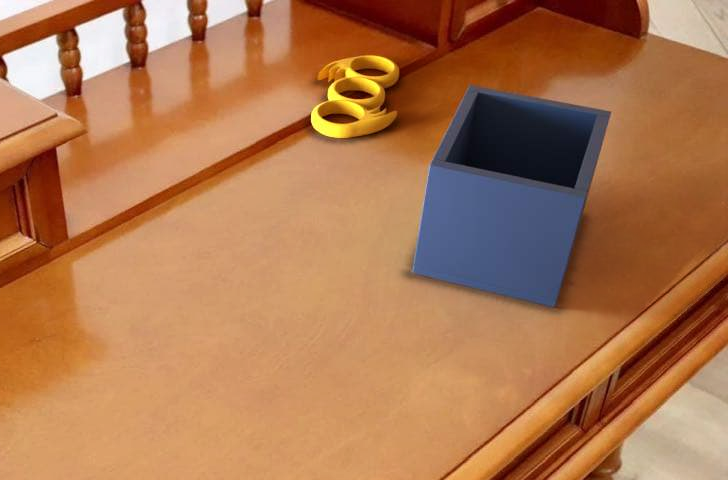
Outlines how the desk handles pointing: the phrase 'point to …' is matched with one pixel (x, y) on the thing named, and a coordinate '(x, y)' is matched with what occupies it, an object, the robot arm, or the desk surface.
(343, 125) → the yellow winged triple ring
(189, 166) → the desk surface
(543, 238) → the bin
